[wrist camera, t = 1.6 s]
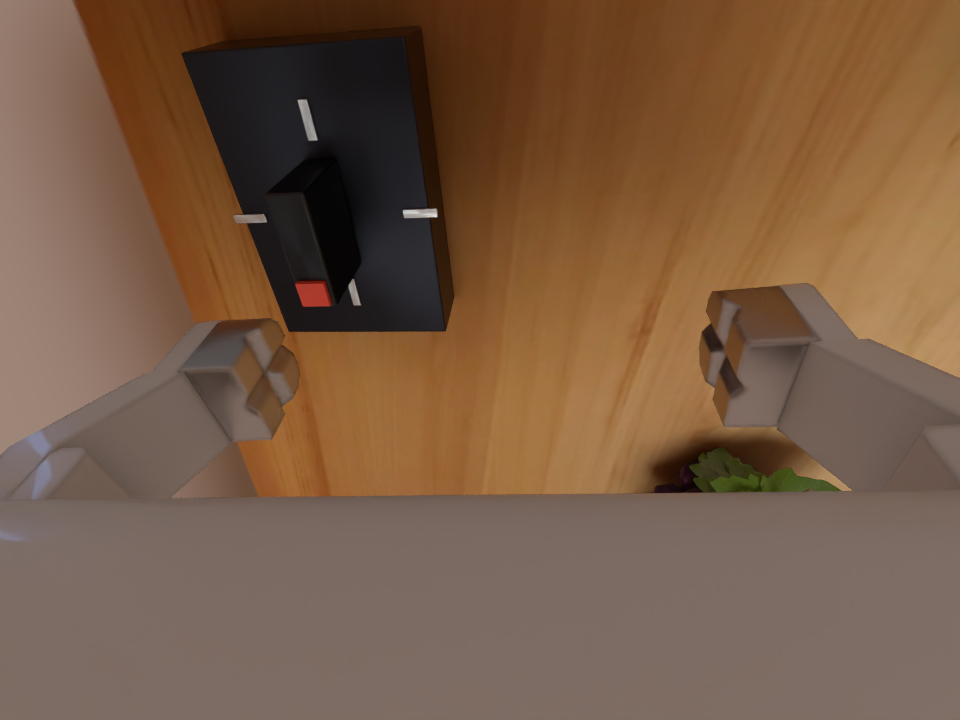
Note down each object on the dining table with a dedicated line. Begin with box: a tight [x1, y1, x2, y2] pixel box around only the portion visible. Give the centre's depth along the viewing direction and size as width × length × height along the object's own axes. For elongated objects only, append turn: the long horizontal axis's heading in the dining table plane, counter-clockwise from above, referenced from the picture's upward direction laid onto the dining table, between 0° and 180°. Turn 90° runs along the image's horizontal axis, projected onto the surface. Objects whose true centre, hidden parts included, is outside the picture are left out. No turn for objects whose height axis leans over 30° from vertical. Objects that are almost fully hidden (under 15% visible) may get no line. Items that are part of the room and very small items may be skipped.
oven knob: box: [265, 159, 361, 307], centre depth 19 cm, size 4×1×4 cm, turn 4°
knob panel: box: [182, 26, 454, 332], centre depth 22 cm, size 12×9×3 cm
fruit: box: [653, 447, 841, 493], centre depth 30 cm, size 10×11×15 cm
